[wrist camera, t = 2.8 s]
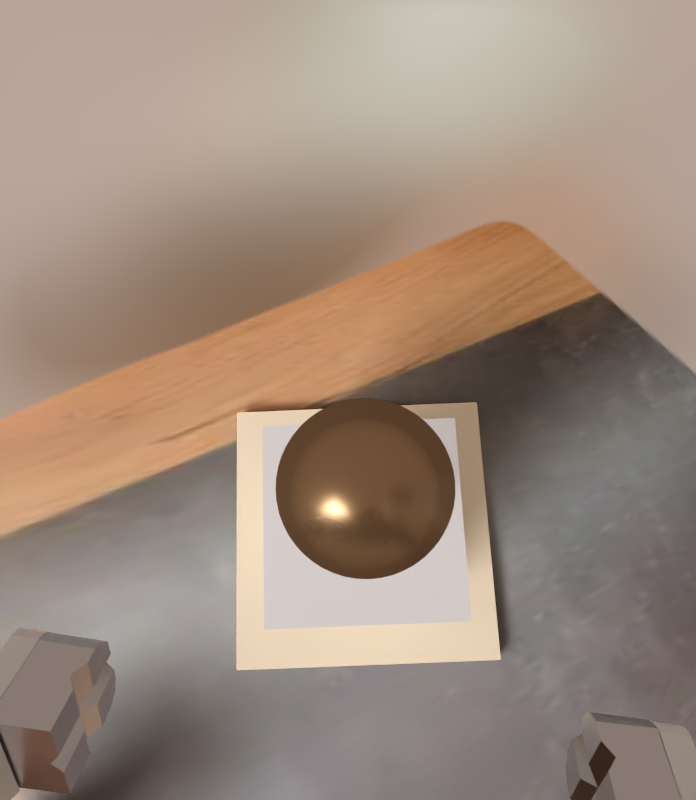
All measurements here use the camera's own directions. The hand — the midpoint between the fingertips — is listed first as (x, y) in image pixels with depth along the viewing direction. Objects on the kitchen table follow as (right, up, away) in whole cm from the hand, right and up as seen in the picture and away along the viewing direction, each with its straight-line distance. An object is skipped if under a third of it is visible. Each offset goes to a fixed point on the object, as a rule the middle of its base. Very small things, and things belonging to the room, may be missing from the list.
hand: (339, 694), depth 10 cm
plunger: (+1, -1, +20) cm, 20 cm away
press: (+1, -5, +34) cm, 35 cm away
